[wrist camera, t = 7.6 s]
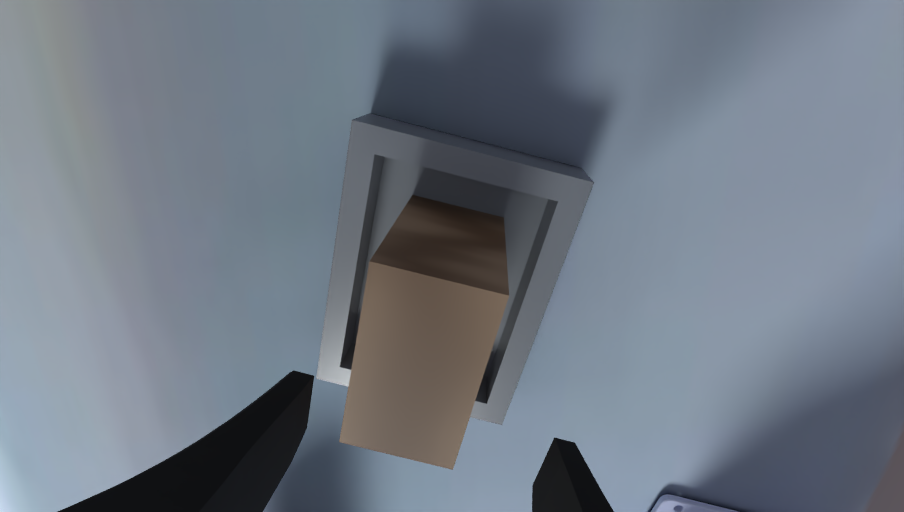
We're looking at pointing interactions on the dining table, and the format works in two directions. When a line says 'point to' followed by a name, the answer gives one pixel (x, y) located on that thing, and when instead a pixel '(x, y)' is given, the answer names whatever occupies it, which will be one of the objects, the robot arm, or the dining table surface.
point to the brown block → (426, 331)
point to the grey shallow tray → (466, 185)
